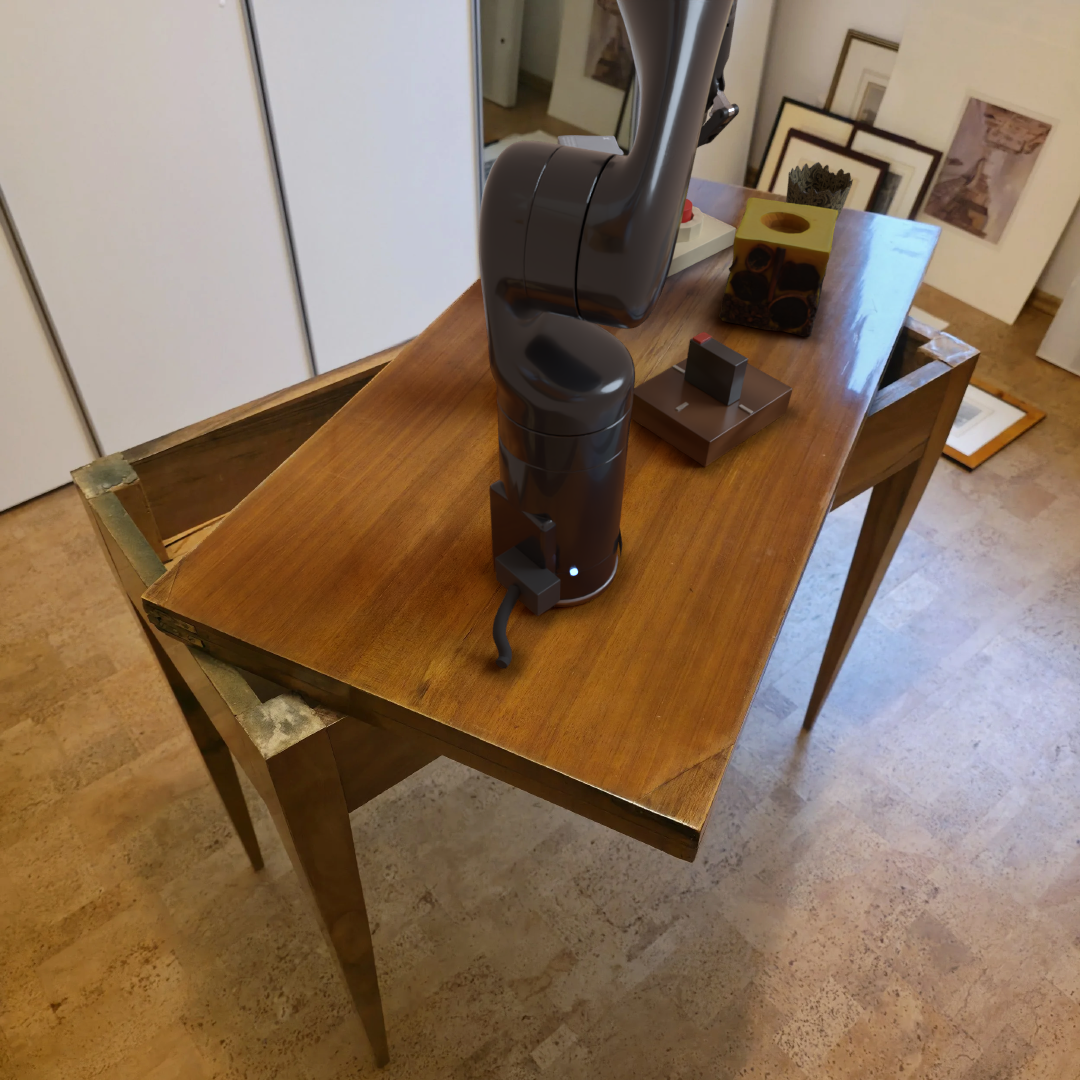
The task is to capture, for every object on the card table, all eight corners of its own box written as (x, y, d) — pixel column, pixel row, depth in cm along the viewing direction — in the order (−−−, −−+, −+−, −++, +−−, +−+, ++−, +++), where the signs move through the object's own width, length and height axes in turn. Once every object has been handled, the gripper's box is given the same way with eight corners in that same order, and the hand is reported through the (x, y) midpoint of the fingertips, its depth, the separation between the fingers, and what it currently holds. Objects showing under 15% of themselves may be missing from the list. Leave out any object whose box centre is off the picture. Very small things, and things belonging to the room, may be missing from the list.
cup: (847, 238, 109) (865, 175, 104) (816, 260, 106) (832, 195, 100) (796, 219, 113) (810, 156, 107) (764, 239, 109) (777, 175, 103)
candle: (810, 340, 94) (833, 254, 87) (717, 323, 96) (732, 237, 89) (821, 292, 101) (843, 209, 93) (733, 277, 103) (748, 194, 96)
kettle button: (675, 228, 103) (676, 214, 102) (650, 216, 105) (652, 202, 104) (697, 218, 105) (699, 204, 104) (673, 206, 107) (674, 192, 106)
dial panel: (705, 467, 80) (710, 440, 77) (626, 415, 85) (629, 389, 83) (786, 413, 85) (793, 386, 83) (708, 367, 90) (712, 341, 88)
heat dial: (740, 398, 82) (749, 356, 78) (727, 406, 81) (735, 363, 78) (696, 372, 85) (703, 330, 81) (683, 379, 84) (689, 337, 80)
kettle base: (667, 277, 103) (671, 246, 100) (607, 246, 108) (609, 215, 105) (733, 244, 108) (739, 213, 105) (673, 216, 113) (677, 185, 110)
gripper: (626, 1, 91) (615, 167, 103) (725, 32, 84) (699, 206, 97) (675, -12, 94) (658, 151, 107) (773, 16, 88) (743, 187, 100)
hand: (678, 177), depth 102 cm, fingers closed
